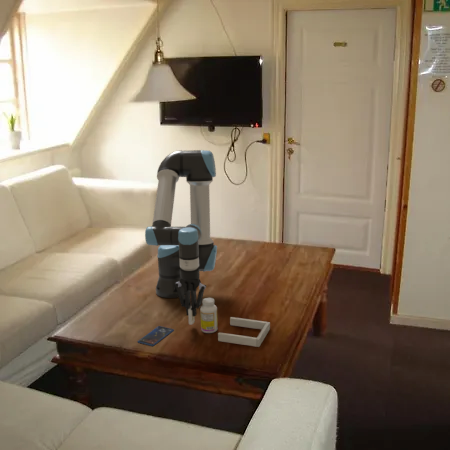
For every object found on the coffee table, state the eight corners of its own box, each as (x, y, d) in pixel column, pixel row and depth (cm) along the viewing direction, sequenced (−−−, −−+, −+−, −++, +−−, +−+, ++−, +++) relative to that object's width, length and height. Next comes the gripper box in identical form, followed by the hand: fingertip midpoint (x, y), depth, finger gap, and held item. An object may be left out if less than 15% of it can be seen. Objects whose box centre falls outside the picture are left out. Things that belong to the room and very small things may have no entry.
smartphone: (136, 341, 221) (158, 325, 234) (136, 343, 221) (158, 327, 234) (153, 345, 218) (174, 329, 230) (153, 347, 218) (174, 331, 231)
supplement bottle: (208, 324, 234) (207, 295, 231) (221, 329, 230) (220, 299, 227) (197, 330, 229) (196, 300, 226) (210, 335, 225) (209, 305, 222)
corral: (218, 340, 221) (218, 333, 220) (231, 323, 235) (230, 317, 234) (259, 347, 216) (259, 339, 215) (269, 329, 229) (269, 322, 229)
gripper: (170, 269, 224) (172, 324, 230) (201, 272, 219) (203, 329, 226) (178, 262, 231) (180, 317, 237) (208, 265, 226) (210, 321, 233)
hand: (191, 323), depth 232 cm, fingers closed
